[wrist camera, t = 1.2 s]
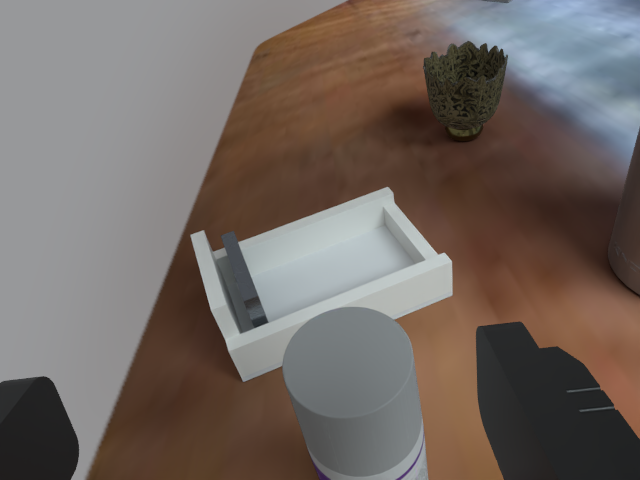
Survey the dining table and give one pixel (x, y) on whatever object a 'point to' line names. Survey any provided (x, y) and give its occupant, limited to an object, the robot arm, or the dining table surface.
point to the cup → (465, 87)
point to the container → (357, 396)
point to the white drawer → (321, 275)
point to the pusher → (244, 280)
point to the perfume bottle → (505, 0)
